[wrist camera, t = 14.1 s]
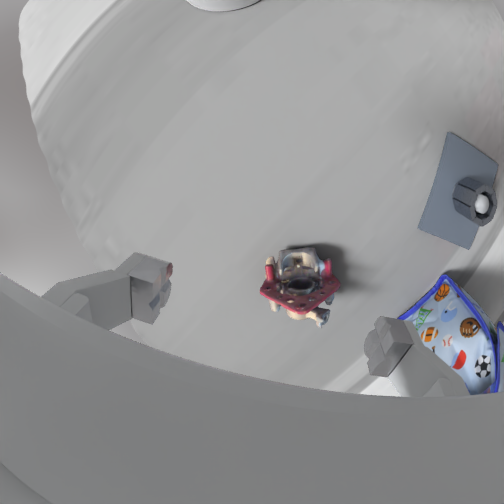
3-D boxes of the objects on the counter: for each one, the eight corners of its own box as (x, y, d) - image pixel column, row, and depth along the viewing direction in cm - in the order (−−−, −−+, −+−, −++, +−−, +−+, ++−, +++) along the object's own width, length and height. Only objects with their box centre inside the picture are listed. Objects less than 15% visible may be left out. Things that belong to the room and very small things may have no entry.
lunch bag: (491, 312, 40) (546, 398, 16) (440, 362, 47) (476, 455, 23) (449, 258, 37) (537, 366, 13) (387, 324, 44) (429, 452, 20)
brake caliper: (336, 231, 36) (349, 317, 30) (332, 265, 45) (339, 334, 40) (254, 239, 38) (254, 325, 32) (266, 271, 47) (268, 340, 42)
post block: (447, 132, 29) (471, 134, 23) (494, 163, 29) (518, 171, 23) (417, 227, 36) (436, 244, 30) (466, 247, 36) (485, 264, 30)
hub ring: (459, 172, 30) (478, 179, 25) (482, 186, 30) (500, 194, 25) (448, 207, 32) (465, 217, 28) (471, 219, 32) (488, 230, 28)
